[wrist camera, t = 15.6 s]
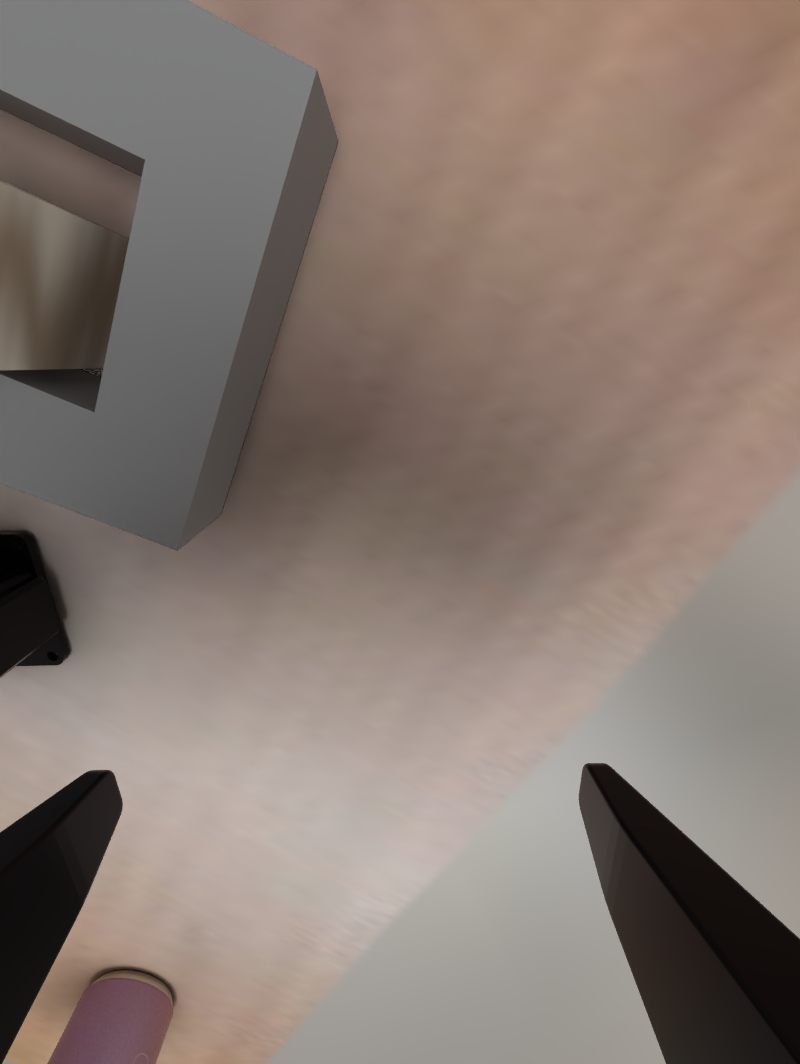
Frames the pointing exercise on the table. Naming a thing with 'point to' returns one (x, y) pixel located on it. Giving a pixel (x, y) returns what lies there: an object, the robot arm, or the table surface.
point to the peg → (55, 284)
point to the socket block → (165, 250)
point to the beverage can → (117, 1021)
